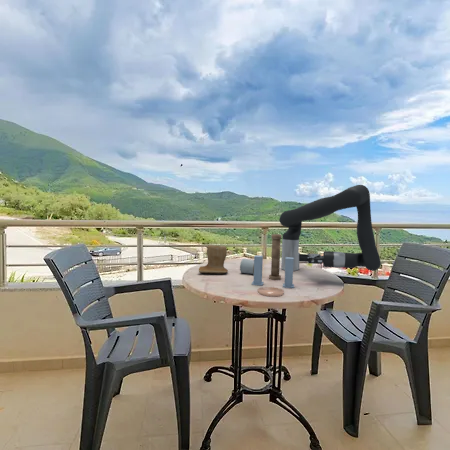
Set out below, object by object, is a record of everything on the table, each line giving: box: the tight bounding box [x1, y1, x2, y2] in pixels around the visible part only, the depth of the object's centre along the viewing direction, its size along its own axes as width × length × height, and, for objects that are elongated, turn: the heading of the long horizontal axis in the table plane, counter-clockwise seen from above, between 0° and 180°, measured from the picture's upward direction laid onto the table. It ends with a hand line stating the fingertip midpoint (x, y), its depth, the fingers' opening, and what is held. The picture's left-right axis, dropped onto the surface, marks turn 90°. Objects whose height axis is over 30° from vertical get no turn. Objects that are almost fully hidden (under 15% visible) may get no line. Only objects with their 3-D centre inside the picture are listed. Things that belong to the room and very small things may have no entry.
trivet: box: [256, 286, 285, 298], centre depth 136 cm, size 11×11×1 cm
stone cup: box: [198, 244, 229, 275], centre depth 170 cm, size 15×12×15 cm
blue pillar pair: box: [251, 255, 295, 289], centre depth 148 cm, size 19×5×13 cm, turn 77°
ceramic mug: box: [239, 258, 254, 275], centre depth 172 cm, size 11×8×8 cm
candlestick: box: [268, 233, 282, 281], centre depth 160 cm, size 6×6×22 cm
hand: (299, 257), depth 158 cm, fingers open, 8 cm apart
